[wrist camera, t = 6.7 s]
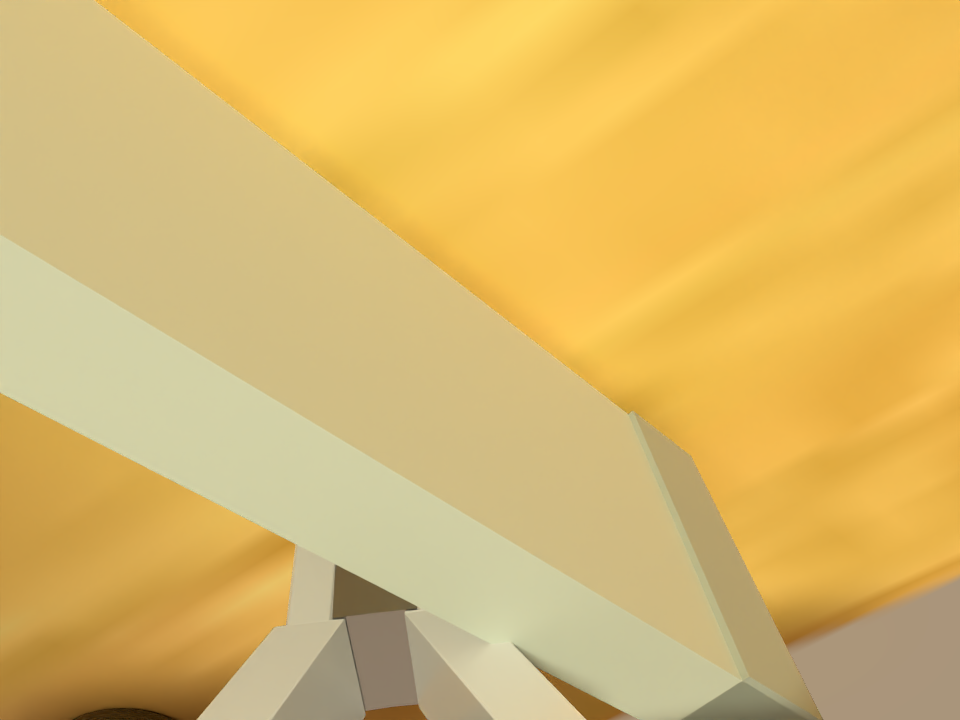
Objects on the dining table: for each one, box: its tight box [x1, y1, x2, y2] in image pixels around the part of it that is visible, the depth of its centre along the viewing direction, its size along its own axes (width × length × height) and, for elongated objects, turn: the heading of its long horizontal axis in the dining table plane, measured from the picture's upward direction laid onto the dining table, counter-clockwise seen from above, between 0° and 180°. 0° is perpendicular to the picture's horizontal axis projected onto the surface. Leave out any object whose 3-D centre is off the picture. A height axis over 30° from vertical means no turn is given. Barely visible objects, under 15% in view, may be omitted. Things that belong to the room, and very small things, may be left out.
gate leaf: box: [0, 0, 823, 720], centre depth 9 cm, size 1×15×5 cm, turn 47°
